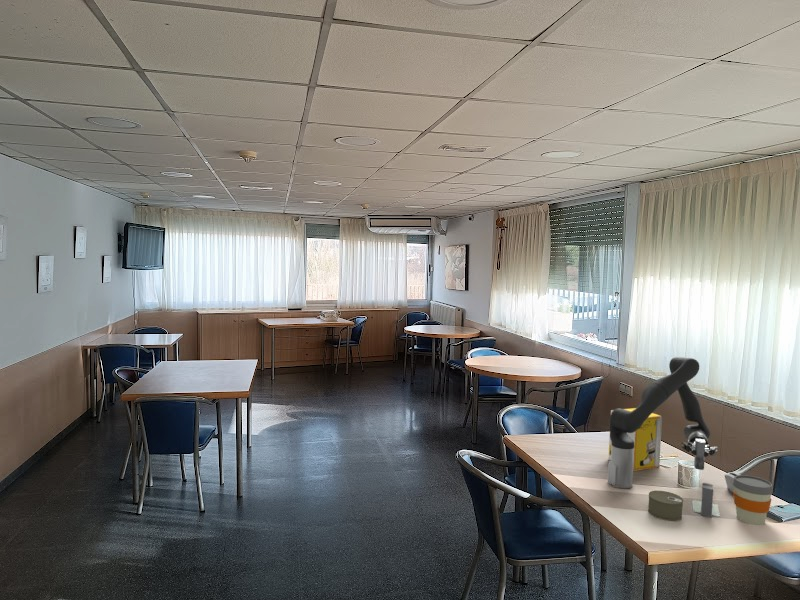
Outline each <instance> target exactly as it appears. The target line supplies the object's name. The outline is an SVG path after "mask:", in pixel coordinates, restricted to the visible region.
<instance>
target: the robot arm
mask: <svg viewBox="0 0 800 600" xmlns="http://www.w3.org/2000/svg"><path fill="white" fill-rule="evenodd" d="M668 364H669V365H668V366H669V371H670V374H668V375H665V376H663V377H660V378H657V379H656V380H653V382H651V383H650V384H649V385H648V386H646V387H645V388H644V389H643V391H642V392H641V397H640V403H639V405H638V406H637V407H635V408H636V409H635V410H633V411H628V410H624V409H625V408H620V407H618V408H615V409H612V410H613V412H612V414H611V413H610V417H609V440H610V439H611V460H609V461H608V466H607V468H608V469H607V483H608V484H610V485H611V484H612V485H613V486H612V485H611V486H612V487H614V488H618V489H631V488H632V487H633V482H634V481H633V480H634V479H633V478H634V476H633V475H634V471H633V460H634V441H633V440H632V439H631V438H630V437H629V436H628V434H627V433H633V432H635V431H636V430H637V429H638V428H639V427H640V426H641V425H642V424H643V423H644V421H645V420H646V419H647V418H648V417H649V416H650V415H651V414H652V413H653V414H654V412H655V411H656V410H657V409H658V408H659V407H660V406H661V405H663V404H664V403H665V402H666V401H667V400H668V399H669V398H670V397H671V396H672V395H673V394H674V393H676V392H678V394H679V397H680V402H681V404H682V405H681V406H682V409H683V413H684V414H683V415H684V419H685V420H686V421H689V422H693V423H694V422H695V423H697V424H688V425H685V427H684V429H683V434H684V437H685V438H686V441H687V442H686V441H681V448H682V449H683V450H684V451H686V452H688V453H690V452H691V454H692V455H693V456H695V454H696V450H695V440H696V439H703V440H705V458H707V457H709V456H714V455H716V454H717V453H718V446H710V444H709V438H710V437H711V432H710V429H709V427H708V426H707V423H706V422H705V420H704V418H703V414H702V411H701V405H700V402H699V400H698V398H697V396H696V395H695V394H694V392H693V391H692V389H691V388H690V386H689V384H688V382H689V381H691V380H692V379H693V378H695V377H696V376H697V374H699V371H700V363H699V361H698V360H697V359H695V358H692V357H687V356H686V357H685V356H684V357H683V356H674V357H672V358H671V360H670V361H669V363H668Z"/></svg>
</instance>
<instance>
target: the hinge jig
mask: <svg viewBox="0 0 800 600" xmlns="http://www.w3.org/2000/svg"><path fill="white" fill-rule="evenodd" d="M701 489H702V490H701V500H695V499H692V501H691V502H692V512H693V513H698V514H701V515H700V516H702V517H707V518H711V519H712V517H717V518H721V516H720V510H719V505H718V504H716V503H714V502H713V500H714V486H713V484H712V483H707V482H703V483H702V487H701Z"/></svg>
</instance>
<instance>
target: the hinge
mask: <svg viewBox="0 0 800 600" xmlns="http://www.w3.org/2000/svg"><path fill="white" fill-rule="evenodd" d="M737 475H741V474H740V473H738V472H732V471H731V472H729V473H726V474H724V480H725V483H726V488H727V489H729V491H731V492H732V493H733V492H734V485H733V482H734V477H735V476H737Z"/></svg>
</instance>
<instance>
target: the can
mask: <svg viewBox="0 0 800 600" xmlns="http://www.w3.org/2000/svg"><path fill="white" fill-rule="evenodd" d="M683 503H684V498H683V497H681V496H680V495H679V494H676V493H674V492H670V491H665V490H651V491H650V492H648V510H647V511H648V513H649V514H650V515H651V516H653V517H654V518H657V519H659V520H664V521H668V522H679V521H681V520H682V519H683V517H682V516H683Z"/></svg>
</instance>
